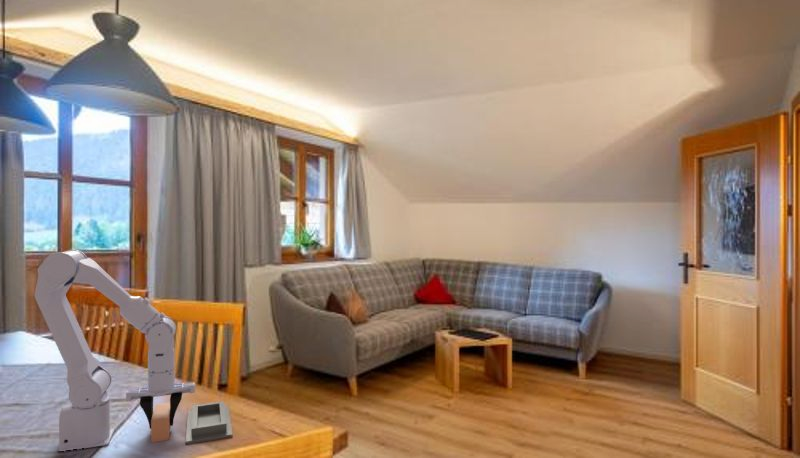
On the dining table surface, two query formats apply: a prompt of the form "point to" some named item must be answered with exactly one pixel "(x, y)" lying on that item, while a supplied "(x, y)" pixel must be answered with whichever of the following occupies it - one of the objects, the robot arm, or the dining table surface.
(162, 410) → the terracotta bar
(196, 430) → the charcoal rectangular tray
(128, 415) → the dining table surface
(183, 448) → the dining table surface
